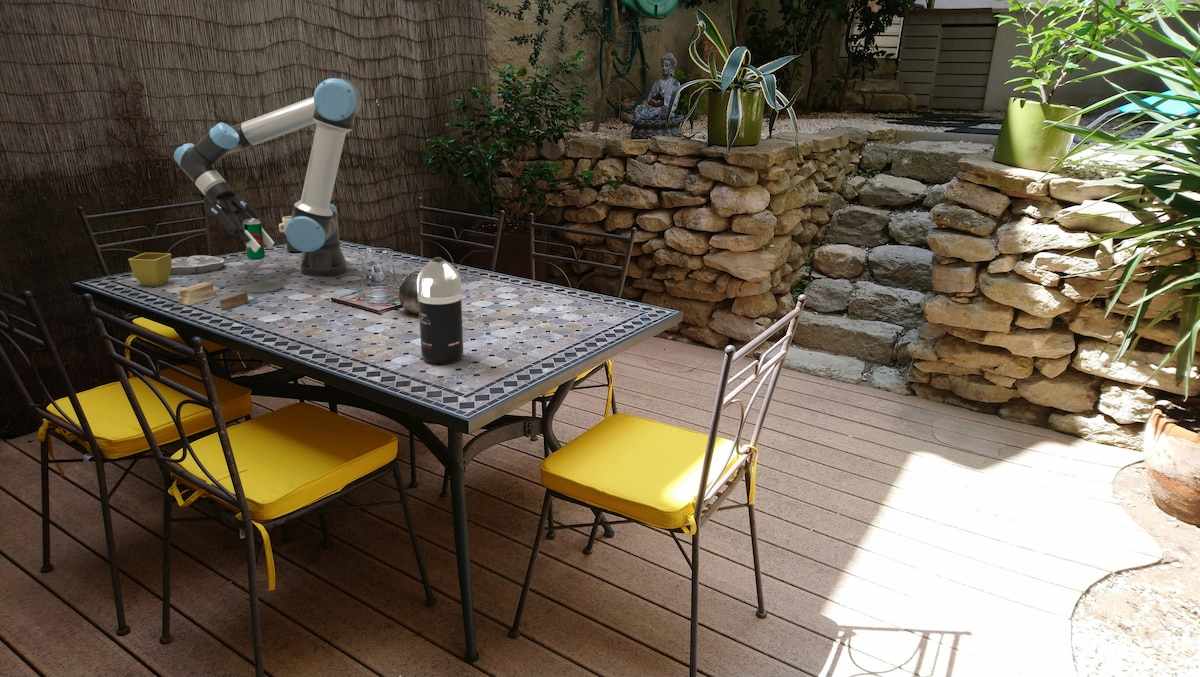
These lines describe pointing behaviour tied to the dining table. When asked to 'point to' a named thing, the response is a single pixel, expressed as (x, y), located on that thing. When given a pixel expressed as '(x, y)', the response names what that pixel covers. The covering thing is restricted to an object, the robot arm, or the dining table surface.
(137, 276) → the flower pot
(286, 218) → the character mug
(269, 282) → the pad
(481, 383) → the dining table surface
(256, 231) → the soda can
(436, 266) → the black and cream bottle
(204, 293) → the set of wooden blocks
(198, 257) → the brain slice
